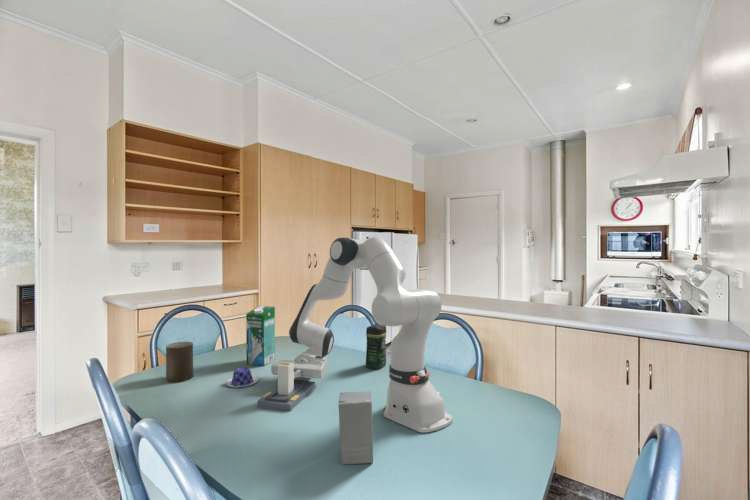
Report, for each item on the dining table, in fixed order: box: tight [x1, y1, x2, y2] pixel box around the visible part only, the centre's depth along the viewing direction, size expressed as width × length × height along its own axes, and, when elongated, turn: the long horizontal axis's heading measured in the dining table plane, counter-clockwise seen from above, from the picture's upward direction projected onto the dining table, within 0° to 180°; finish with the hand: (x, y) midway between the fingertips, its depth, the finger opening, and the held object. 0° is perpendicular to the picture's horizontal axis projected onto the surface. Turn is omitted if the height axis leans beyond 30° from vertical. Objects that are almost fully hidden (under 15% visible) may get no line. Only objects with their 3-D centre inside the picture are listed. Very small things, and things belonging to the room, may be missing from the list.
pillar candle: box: [165, 341, 194, 383], centre depth 145 cm, size 10×10×15 cm
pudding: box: [225, 367, 259, 388], centre depth 141 cm, size 12×12×5 cm
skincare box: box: [338, 390, 374, 466], centre depth 90 cm, size 8×7×16 cm
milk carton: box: [245, 305, 276, 367], centre depth 165 cm, size 9×9×25 cm
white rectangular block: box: [277, 362, 295, 395], centre depth 125 cm, size 4×4×10 cm
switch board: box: [256, 378, 316, 412], centre depth 127 cm, size 20×12×3 cm, turn 166°
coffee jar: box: [365, 322, 387, 370], centre depth 159 cm, size 10×8×19 cm
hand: (288, 376), depth 127 cm, fingers closed, pressing on white rectangular block
